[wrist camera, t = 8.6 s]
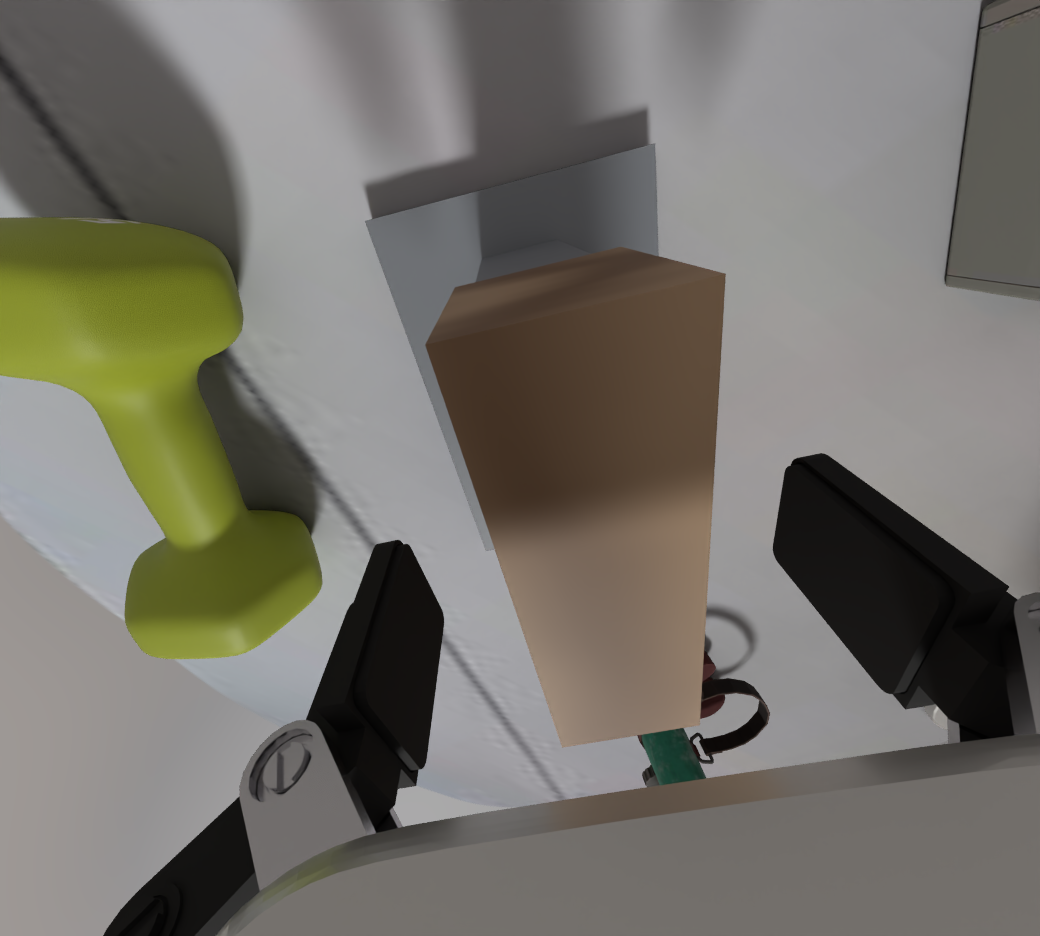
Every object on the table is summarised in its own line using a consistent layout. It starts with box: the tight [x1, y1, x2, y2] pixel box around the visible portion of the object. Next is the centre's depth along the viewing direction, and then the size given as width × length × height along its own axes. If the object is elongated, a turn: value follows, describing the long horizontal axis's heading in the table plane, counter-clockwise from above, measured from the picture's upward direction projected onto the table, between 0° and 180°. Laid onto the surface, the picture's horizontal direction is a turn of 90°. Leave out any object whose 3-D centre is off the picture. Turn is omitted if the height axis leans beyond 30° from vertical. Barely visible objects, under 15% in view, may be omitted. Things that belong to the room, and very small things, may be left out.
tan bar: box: [425, 247, 726, 748], centre depth 11 cm, size 4×12×5 cm, turn 12°
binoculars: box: [637, 650, 770, 787], centre depth 28 cm, size 9×11×10 cm
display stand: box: [365, 144, 658, 551], centre depth 16 cm, size 10×16×7 cm, turn 13°
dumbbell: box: [0, 217, 322, 659], centre depth 16 cm, size 16×8×7 cm, turn 177°
